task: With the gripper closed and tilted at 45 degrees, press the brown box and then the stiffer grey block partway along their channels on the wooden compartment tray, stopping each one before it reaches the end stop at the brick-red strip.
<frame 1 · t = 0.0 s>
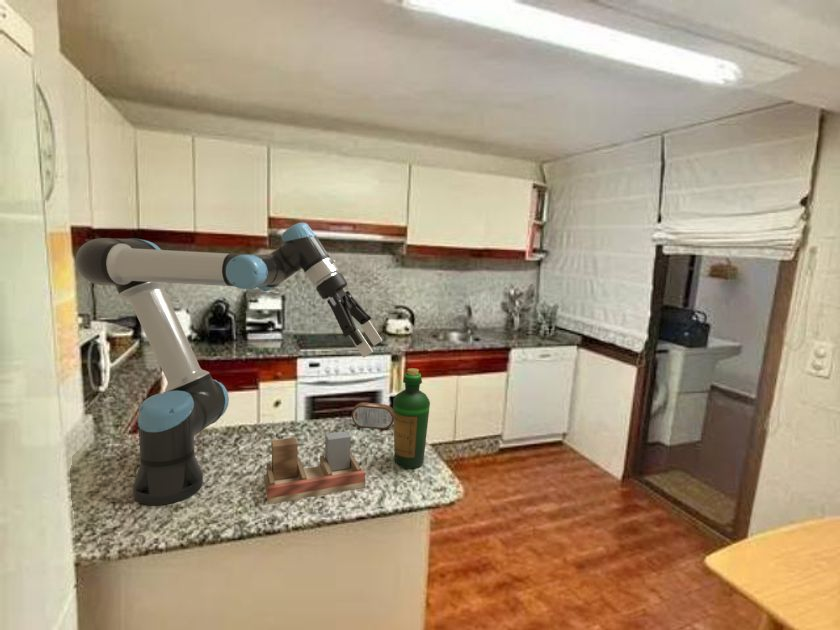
hand: (373, 348, 116), 36 cm above the worktop, tool tilted 35°, fingers open, 13 cm apart
bottle: (408, 463, 132), on the worktop
wooden compartment tray: (314, 483, 118), on the worktop
grey block: (337, 450, 123), point 6 cm above the worktop, slide at 0.0 cm
brown box: (284, 457, 118), point 6 cm above the worktop, slide at 0.0 cm
tin: (372, 427, 156), on the worktop
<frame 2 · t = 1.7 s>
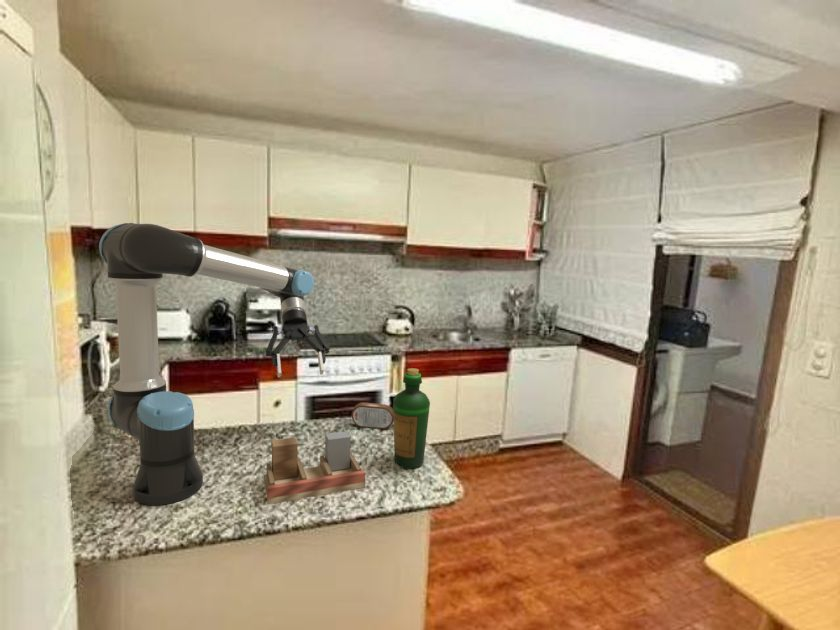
hand: (301, 373, 134), 23 cm above the worktop, tool tilted 45°, fingers open, 12 cm apart
nothing on the worktop moved.
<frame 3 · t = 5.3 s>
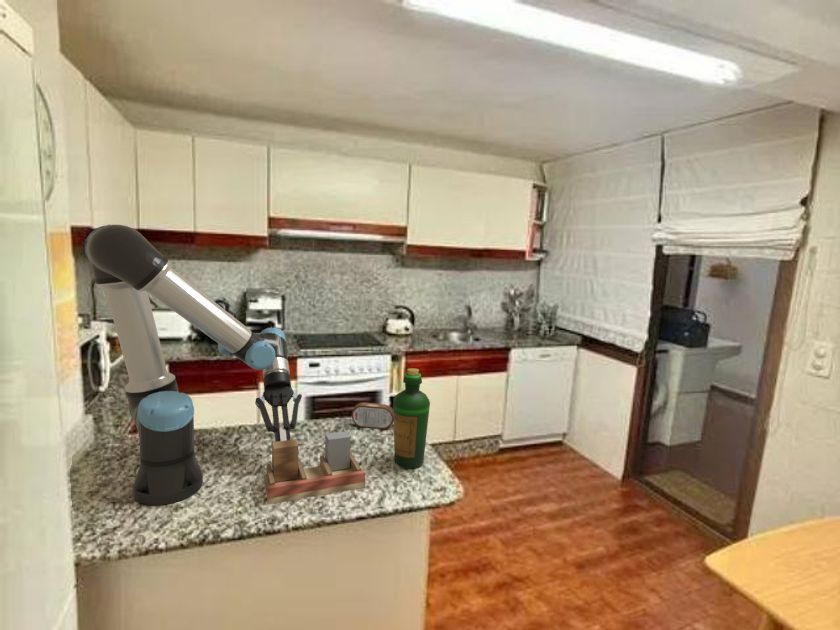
hand: (284, 454, 120), 6 cm above the worktop, tool tilted 45°, fingers closed
brown box: (284, 459, 117), point 6 cm above the worktop, slide at 1.2 cm, touching gripper
everything else where it was.
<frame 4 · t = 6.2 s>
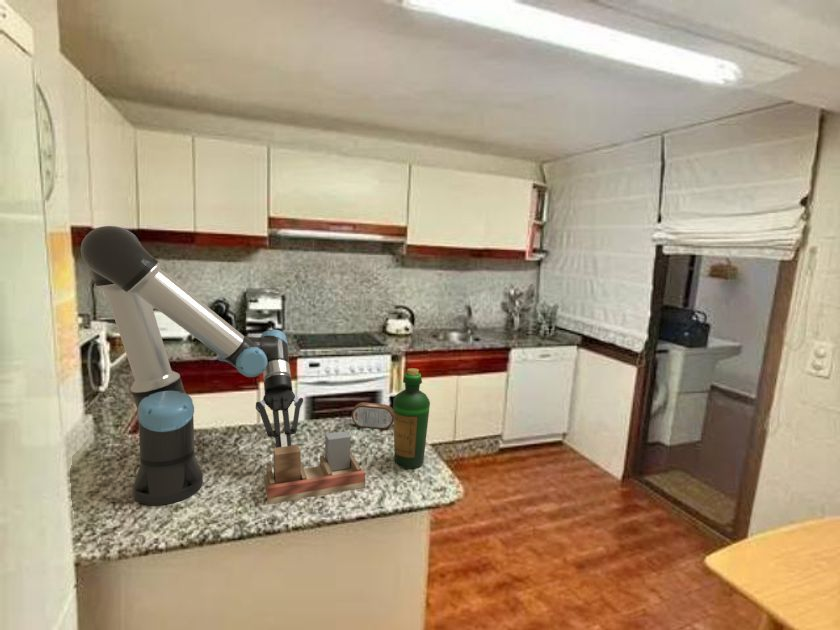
hand: (285, 460, 117), 6 cm above the worktop, tool tilted 45°, fingers closed
brown box: (286, 466, 113), point 6 cm above the worktop, slide at 4.7 cm, touching gripper
everything else where it was.
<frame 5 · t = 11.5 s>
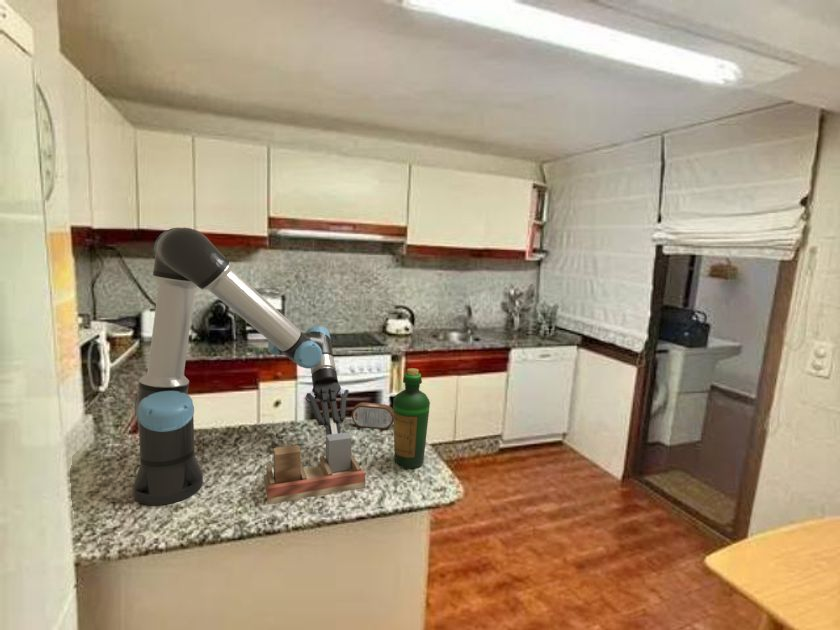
hand: (335, 446, 126), 6 cm above the worktop, tool tilted 45°, fingers closed
grey block: (338, 451, 123), point 6 cm above the worktop, slide at 0.8 cm, touching gripper
brown box: (286, 466, 113), point 6 cm above the worktop, slide at 4.8 cm
everything else where it was.
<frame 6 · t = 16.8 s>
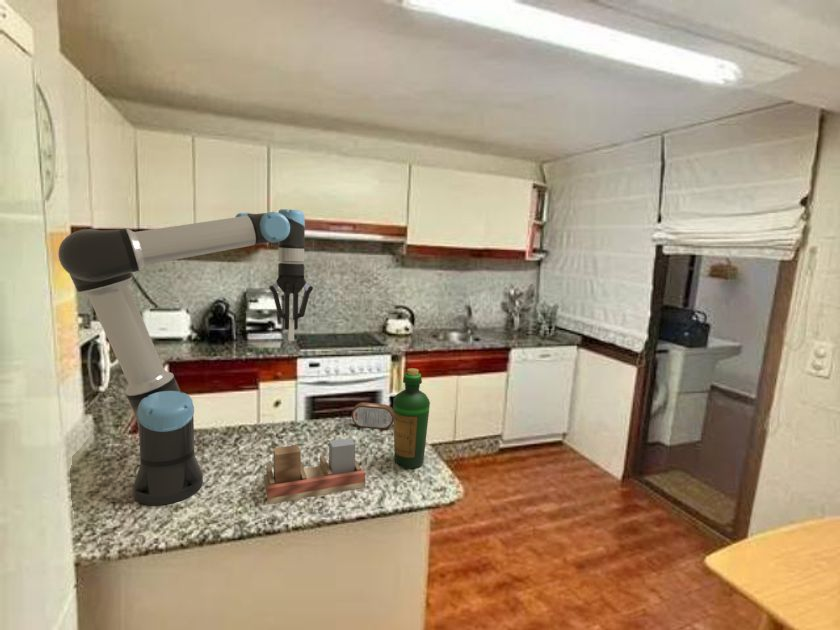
hand: (290, 339, 138), 32 cm above the worktop, tool pointing down, fingers closed
grey block: (341, 458, 119), point 6 cm above the worktop, slide at 4.7 cm
everything else where it was.
at the end: brown box slide at 4.8 cm; grey block slide at 4.7 cm; bottle moved 0.2 cm from its start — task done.
